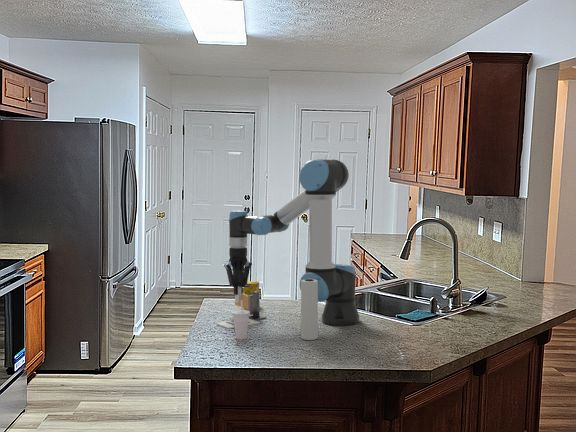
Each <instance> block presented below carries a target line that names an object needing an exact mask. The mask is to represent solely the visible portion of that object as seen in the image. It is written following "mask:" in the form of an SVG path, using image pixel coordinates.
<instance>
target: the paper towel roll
mask: <svg viewBox="0 0 576 432" xmlns="http://www.w3.org/2000/svg"><path fill="white" fill-rule="evenodd" d="M318 303H319V302H318V281H317V280H315V279H309V278H308V279H305V280H301V290H300V337H301V338H300V339H302V340H306V341H314V340H318V335H319V334H318V333H319V331H318V330H319V329H318V327H319V326H318V322H319V321H318V320H319V319H318V318H319V317H318V316H319V313H318V312H319V310H318V309H319V308H318V307H319V304H318Z"/></svg>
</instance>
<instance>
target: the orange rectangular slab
mask: <svg viewBox="0 0 576 432" xmlns="http://www.w3.org/2000/svg"><path fill="white" fill-rule="evenodd" d="M241 300H242V309H244V310H246V311H249V312H250V315H249V316H252V315H253V295H246V294H244V293H243V294H241ZM234 306H237V307H239V308H241V303H238V302H235V301H234Z"/></svg>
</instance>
